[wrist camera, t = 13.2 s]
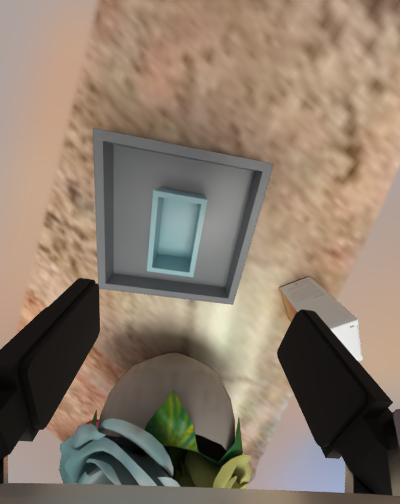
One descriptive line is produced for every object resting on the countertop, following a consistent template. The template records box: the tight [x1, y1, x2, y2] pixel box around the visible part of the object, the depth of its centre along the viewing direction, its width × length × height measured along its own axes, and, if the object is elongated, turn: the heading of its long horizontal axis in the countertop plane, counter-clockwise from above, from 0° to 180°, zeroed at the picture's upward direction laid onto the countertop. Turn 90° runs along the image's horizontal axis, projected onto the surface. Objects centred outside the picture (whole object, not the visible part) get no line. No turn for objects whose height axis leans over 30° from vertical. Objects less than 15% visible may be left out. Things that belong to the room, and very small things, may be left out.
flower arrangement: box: [59, 352, 252, 489], centre depth 29 cm, size 25×25×24 cm
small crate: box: [147, 187, 207, 277], centre depth 25 cm, size 10×6×5 cm, turn 170°
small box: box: [279, 277, 363, 361], centre depth 30 cm, size 8×6×10 cm
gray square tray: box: [93, 128, 273, 305], centre depth 26 cm, size 20×20×4 cm
